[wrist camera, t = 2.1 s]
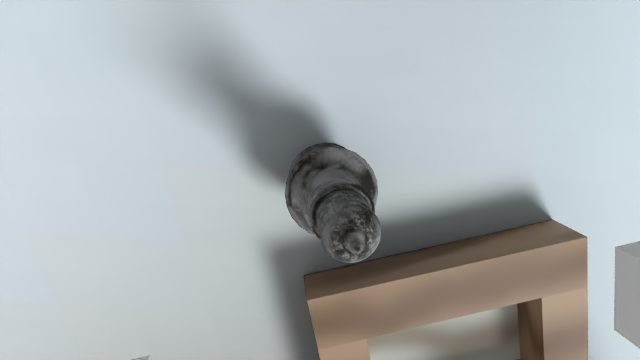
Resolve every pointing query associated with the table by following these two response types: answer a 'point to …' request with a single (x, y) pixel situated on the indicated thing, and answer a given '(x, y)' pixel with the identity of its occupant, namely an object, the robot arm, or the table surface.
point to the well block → (459, 300)
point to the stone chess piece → (335, 200)
